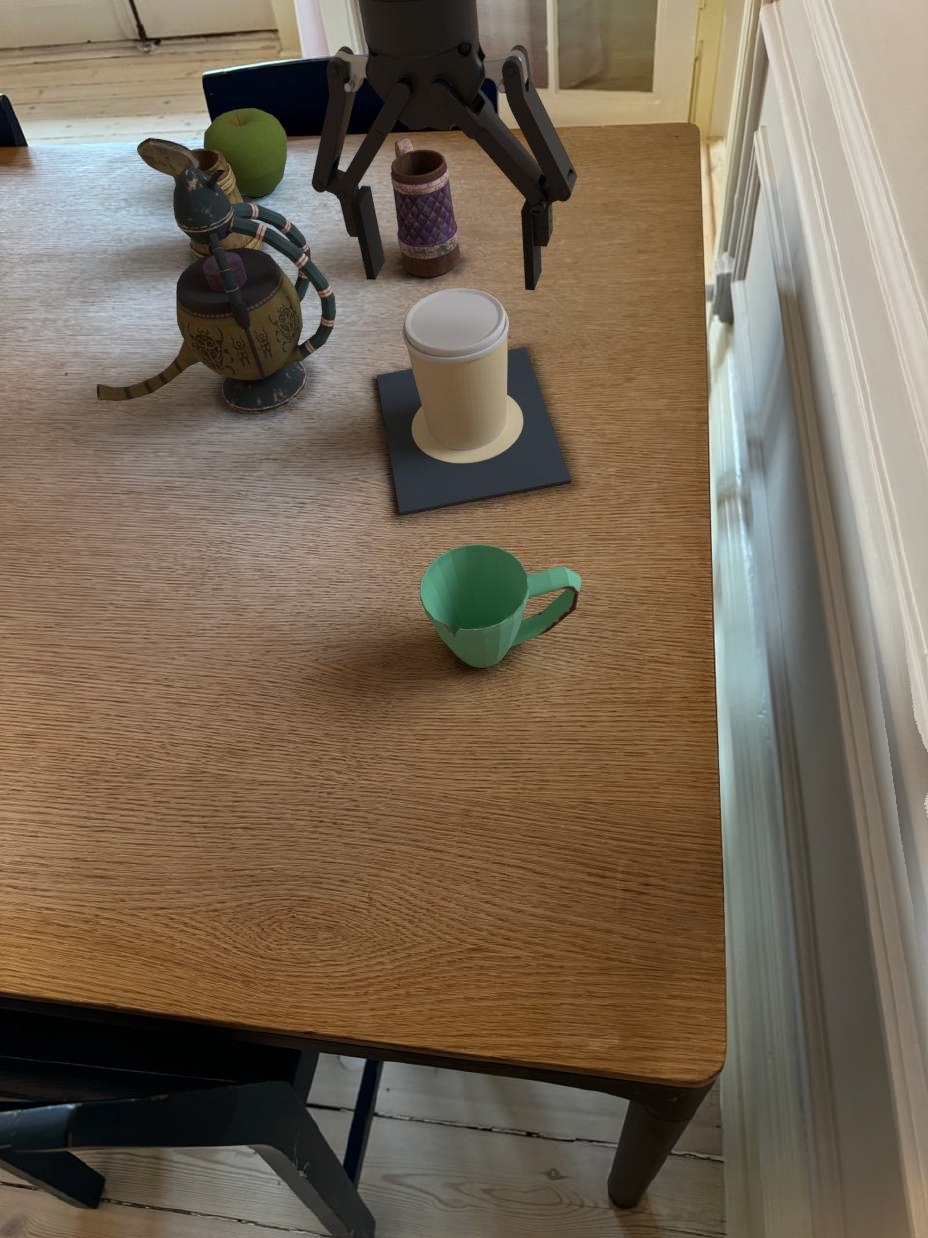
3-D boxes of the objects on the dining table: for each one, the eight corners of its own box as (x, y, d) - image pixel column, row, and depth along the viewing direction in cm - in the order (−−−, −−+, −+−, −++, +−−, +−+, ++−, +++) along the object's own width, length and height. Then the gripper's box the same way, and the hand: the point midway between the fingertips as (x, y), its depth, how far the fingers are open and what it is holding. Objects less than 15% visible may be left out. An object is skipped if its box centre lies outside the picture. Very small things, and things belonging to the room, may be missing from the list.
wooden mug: (173, 294, 103) (107, 140, 88) (205, 231, 110) (149, 80, 96) (243, 293, 101) (188, 136, 87) (270, 229, 109) (224, 75, 94)
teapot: (360, 391, 89) (305, 167, 70) (124, 469, 85) (-1, 255, 66) (329, 328, 96) (271, 108, 77) (110, 398, 92) (-8, 185, 73)
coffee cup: (529, 402, 84) (524, 295, 75) (491, 466, 80) (481, 361, 70) (445, 383, 87) (429, 277, 78) (403, 443, 83) (382, 339, 73)
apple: (204, 200, 115) (177, 123, 107) (257, 163, 119) (235, 86, 111) (261, 219, 111) (237, 140, 102) (314, 181, 115) (295, 102, 107)
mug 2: (440, 698, 66) (426, 640, 60) (427, 616, 71) (412, 554, 64) (591, 670, 67) (594, 608, 60) (568, 590, 71) (568, 525, 65)
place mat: (571, 482, 78) (571, 478, 78) (400, 515, 78) (399, 511, 78) (526, 349, 90) (525, 345, 90) (377, 378, 90) (376, 374, 89)
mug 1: (469, 269, 100) (458, 165, 90) (411, 285, 99) (394, 182, 89) (443, 226, 105) (430, 124, 96) (388, 241, 105) (370, 140, 95)
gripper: (210, -6, 54) (298, 292, 71) (601, -15, 48) (595, 313, 65) (257, -50, 58) (330, 242, 75) (623, -63, 52) (611, 257, 69)
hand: (453, 275), depth 70 cm, fingers open, 13 cm apart
